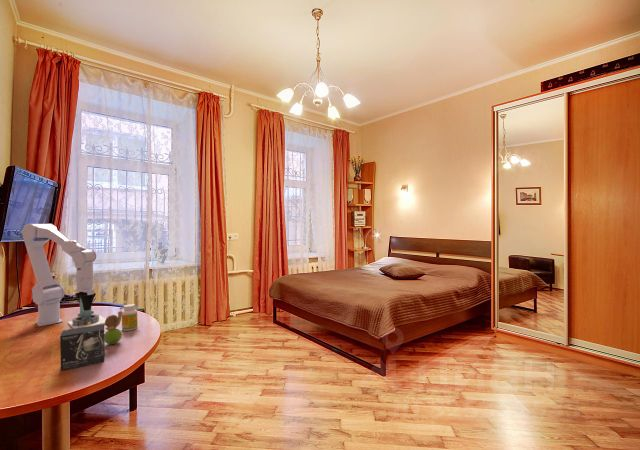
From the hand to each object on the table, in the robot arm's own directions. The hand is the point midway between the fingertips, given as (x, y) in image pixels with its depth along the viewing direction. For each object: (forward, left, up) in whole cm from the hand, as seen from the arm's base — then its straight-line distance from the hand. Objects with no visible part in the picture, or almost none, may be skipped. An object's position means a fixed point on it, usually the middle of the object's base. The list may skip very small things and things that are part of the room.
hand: (85, 309), depth 134 cm
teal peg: (0, 0, -3) cm, 3 cm away
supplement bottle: (+22, +10, -7) cm, 26 cm away
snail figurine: (+35, +1, -7) cm, 36 cm away
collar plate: (0, +1, -6) cm, 6 cm away
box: (+46, -10, -7) cm, 48 cm away
